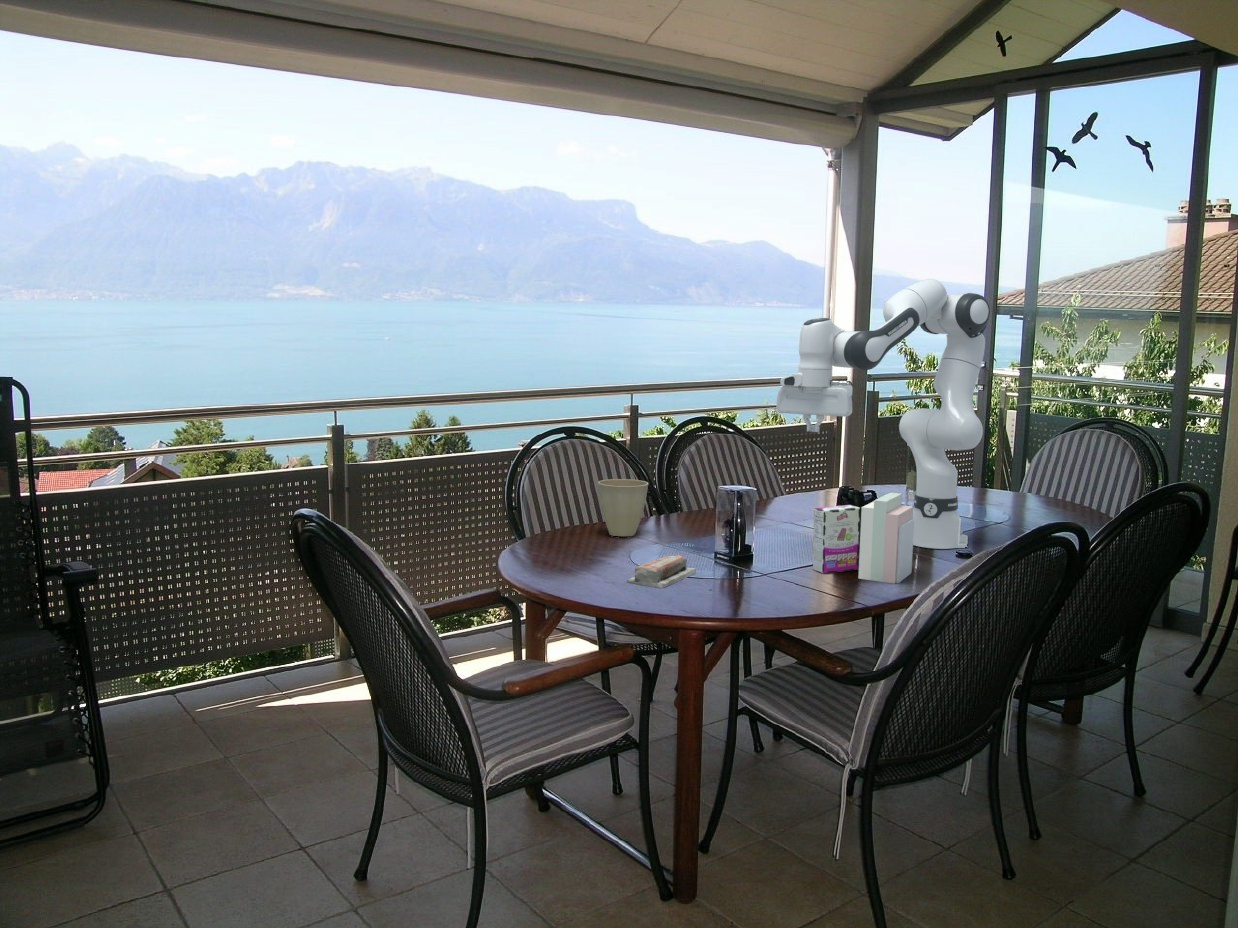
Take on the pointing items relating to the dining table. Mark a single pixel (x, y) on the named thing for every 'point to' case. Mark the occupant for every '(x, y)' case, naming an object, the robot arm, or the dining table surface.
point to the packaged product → (662, 572)
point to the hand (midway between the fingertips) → (813, 431)
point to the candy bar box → (836, 539)
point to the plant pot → (622, 504)
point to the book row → (886, 540)
